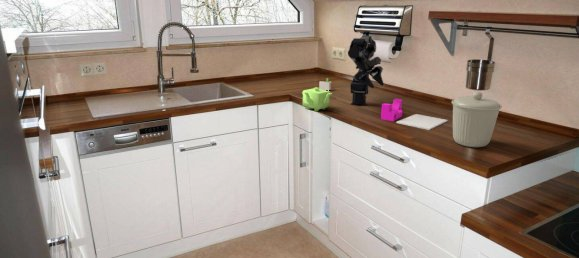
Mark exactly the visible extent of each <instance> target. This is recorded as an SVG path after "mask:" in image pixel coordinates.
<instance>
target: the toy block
mask: <svg viewBox="0 0 579 258" xmlns="http://www.w3.org/2000/svg"><path fill="white" fill-rule="evenodd" d="M402 105H403V99H399V98H394V99H393V102H392V104H391V103H387V102H386V103H385V102H384V103H382V104H381V110H380V111H381V112H380V113H381V114H380V120H384V121H389V122H395V121H398V120H399V119H402V117H403V109H402V108H403V106H402Z"/></svg>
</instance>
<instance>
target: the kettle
mask: <svg viewBox="0 0 579 258" xmlns="http://www.w3.org/2000/svg"><path fill="white" fill-rule="evenodd" d="M301 94H302V107H306V110H311V109H314V112H319V110H326V108H330V105H331V103H330V102H331V95H332V94H333V93H332V92H331V91H326V90H321V89H319V87H317V86H316V87H313V88H309V89H304V90H303V91H302V92H301Z"/></svg>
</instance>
